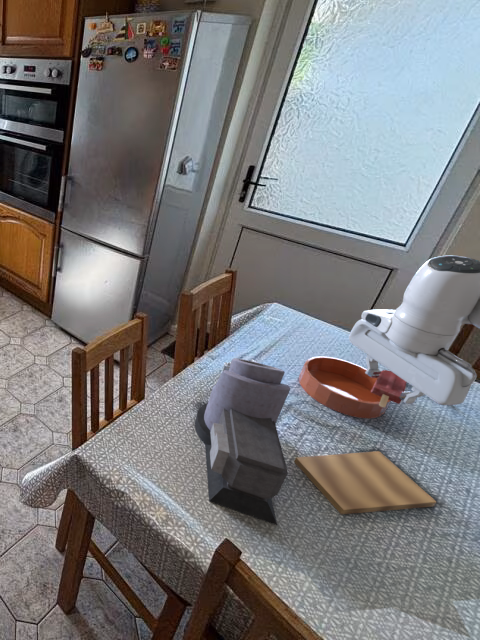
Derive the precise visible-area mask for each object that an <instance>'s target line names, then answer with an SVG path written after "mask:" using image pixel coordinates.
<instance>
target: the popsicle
mask: <svg viewBox="0 0 480 640" xmlns="http://www.w3.org/2000/svg"><path fill="white" fill-rule="evenodd" d="M381 371H382V372H381V374H379V375H380V376H379V377H378V378H377V380H376V382H375V384H374V386H373V388H372V390H371V393H373V394H376V395H378V396H380V397H382V398H381V400H380V403H379V406H380V407H383V408H385V407H386V404H387V401H388V400H390V401H391V402H393V403H394V404H397V405H399V404H401V403H402V402H403V401H402V400H401V399H400V398H399V396H401V395H400V394H401V393H402V392H406V389H405V387H407V385H406V384H408V383H407V382H406V381H405V380H403V379H402V378H400V377H399V376H397V375H396V374H394V373H393V372H391V371H390V370H389V369H383V370H381Z"/></svg>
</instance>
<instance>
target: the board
mask: <svg viewBox="0 0 480 640" xmlns="http://www.w3.org/2000/svg"><path fill="white" fill-rule="evenodd" d="M293 463H294V464H295V465H296V467H298V468H299V470H300V471H301V472H302V473H303V474H304V475H305V476H306V477H307V478H308V480H309V481H310V482H311V483H312V484H313V485H314V486H315V487H316V488H317V490H318V491H319V492H320V493H321V494H322V495H323V496H324V498H325V499H327V501H328V502H329V503H330V504H331V505H332V506H333V507H334V509H335V510H336V511H337V512H338V513H339V514H340V515H350V514H352V515H353V514H362V513H363V514H364V513H374V512H376V513H377V512H385V511H398V510H399V511H401V510H407V509H408V510H410V509H421V508H432V507H435V505H436V504H437V501H436V500H435V499H434V497H432V496H431V495H429V493H428V492H426V491H425V490H424V489H423V488H422V487H420V486H419V484H417V483H416V482H415V481H414V480H413V479H412V478H410V476H409V475H407V474H406V473H405V472H404V471H403V470H401V469H400V468H399V467H398V466H397V465H396V464H395V463H394V462H392V461H391V460H390V459H389V458H387V456H385V455H384V454H383V452H381V451H379V450H375V451H363V452H361V451H360V452H351V453H350V452H348V453H336V454H323V455H310V456H296V457H295V459H294V460H293Z"/></svg>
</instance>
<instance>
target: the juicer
mask: <svg viewBox="0 0 480 640" xmlns="http://www.w3.org/2000/svg"><path fill="white" fill-rule="evenodd" d="M230 362H231V365H230V368H229V371H227V370H224V371H223V372H222V371H221V372H222V373H221V372H220V375H219V377H218V379H217V381H216V384H214V386H212V388H211V392H210V395H209V397H208V401H207V403H204V404H203V405H201V406H200V407H198V408H197V409H198V410H197V413H196V415H195V419H194V429H195V432H196V435H197V436H198V438H199V439H200V441H201V442H202V443H203V445H205V446H204V448H205V450H204V451H205V462H206V479H207V490H208V502H210V503H213V504H216V505H218V506H221V507H224V508H227V509H230V510H233V511H236V512H238V513H241V514H244V515H247V516H249V517H252V518H255V519H258V520H261V521H264V522H266V523H269V524H272V525H275V526H278V521H277V516H276V512H275V511H276V510H275V507H274V502H273V498H274V497H277V496H278V495H279V493H280V491H281V489H282V487H283V485H284V482H285V481H286V478H287V477H288V474H289V471H288V468H287V464H286V460H285V456H284V451H283V449H282V444H281V441H280V436H279V433H278V429H277V426H276V424H277V422H278V419H279V417H280V414H281V412H282V410H283V407H284V405H285V403H286V400H287V398H288V397H289V393H290V391H291V387H290V385H289V384H285V383H282V380H283V378H284V376H285V374H286V373H285V370H283V369H281V368H278V367H276V366H272V365H268V364H264V363H260V362H257V361H256V362H252V361H251V360H247V359H243V358H237V357H234V358H232V359H231V361H230Z"/></svg>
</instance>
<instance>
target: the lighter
mask: <svg viewBox="0 0 480 640" xmlns="http://www.w3.org/2000/svg"><path fill="white" fill-rule="evenodd" d="M250 361H252V362H257V361H256V360H254V359H251V360H250ZM231 362H232V361H229V362H226V361H225V362H223V365H222V369H221V372H220V374H221V373H222V372H223V371H224V370H227V371H229V368H230V365H231Z"/></svg>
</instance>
